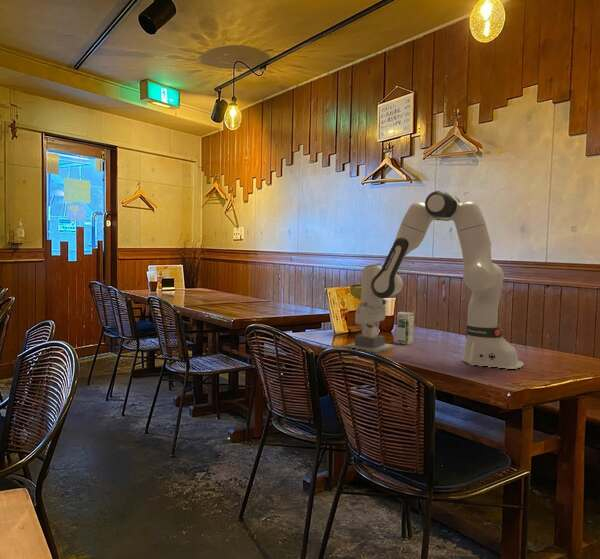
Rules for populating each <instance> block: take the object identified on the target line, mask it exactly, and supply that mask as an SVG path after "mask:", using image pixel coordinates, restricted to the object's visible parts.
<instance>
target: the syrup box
mask: <svg viewBox="0 0 600 559" xmlns="http://www.w3.org/2000/svg"><path fill="white" fill-rule="evenodd" d="M396 320H397V323H396V324H397V326H396V329H397V330H396V344H400V343H401V344H402V345H405V346H406V345H407V344H408V345H411V344H413V343H414V326H415V322H414V321H415V312H407V311H400V312H399V311H398V312H397V319H396Z"/></svg>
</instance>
